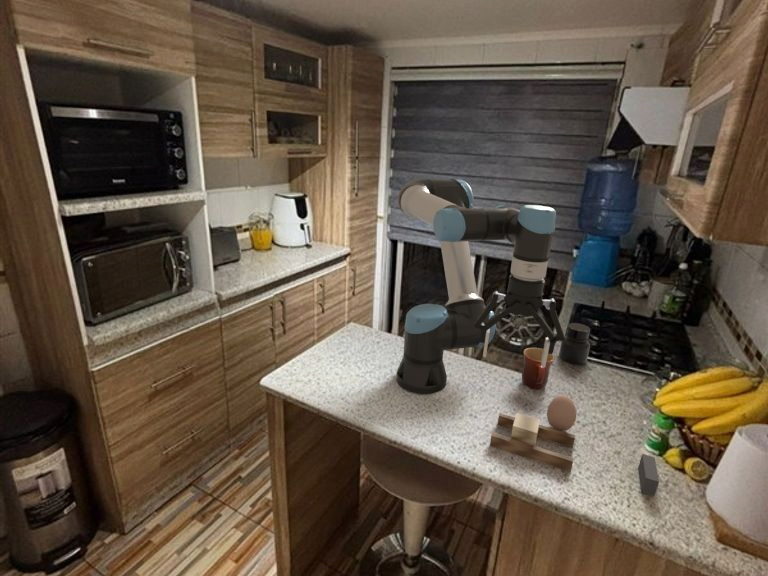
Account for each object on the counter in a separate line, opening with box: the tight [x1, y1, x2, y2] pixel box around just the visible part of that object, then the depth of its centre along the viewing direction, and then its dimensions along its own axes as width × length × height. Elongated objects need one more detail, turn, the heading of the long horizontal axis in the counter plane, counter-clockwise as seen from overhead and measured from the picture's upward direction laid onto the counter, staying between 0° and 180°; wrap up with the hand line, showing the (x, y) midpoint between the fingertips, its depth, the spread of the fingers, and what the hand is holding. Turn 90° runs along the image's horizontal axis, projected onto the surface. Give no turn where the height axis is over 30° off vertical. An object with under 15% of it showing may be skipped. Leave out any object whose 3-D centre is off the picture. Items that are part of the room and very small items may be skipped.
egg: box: [546, 395, 577, 432], centre depth 105 cm, size 7×7×10 cm
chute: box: [489, 412, 576, 473], centre depth 100 cm, size 18×10×3 cm, turn 64°
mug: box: [521, 347, 555, 391], centre depth 123 cm, size 12×9×10 cm
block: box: [510, 412, 541, 446], centre depth 101 cm, size 6×6×6 cm
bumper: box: [637, 453, 660, 498], centre depth 90 cm, size 2×8×4 cm, turn 154°
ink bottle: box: [558, 322, 591, 366], centre depth 141 cm, size 10×9×12 cm
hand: (513, 359), depth 101 cm, fingers open, 13 cm apart
